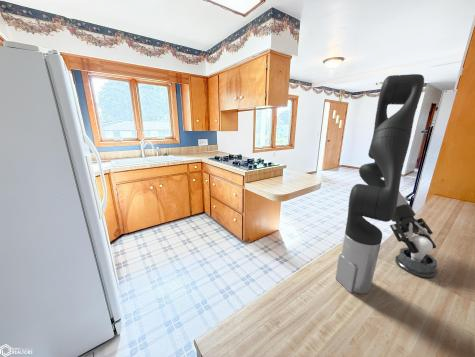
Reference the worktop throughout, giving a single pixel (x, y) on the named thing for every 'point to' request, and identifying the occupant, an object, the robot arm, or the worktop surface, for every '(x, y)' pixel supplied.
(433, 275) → the socket holder
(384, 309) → the worktop surface
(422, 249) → the lightbulb
